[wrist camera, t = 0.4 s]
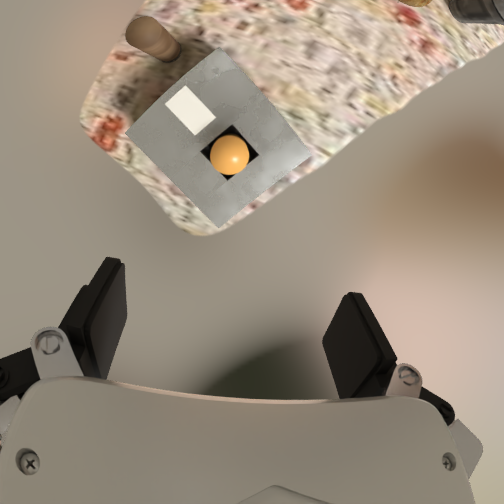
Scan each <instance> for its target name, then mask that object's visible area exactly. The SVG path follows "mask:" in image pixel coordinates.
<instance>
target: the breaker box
mask: <svg viewBox="0 0 504 504" xmlns="http://www.w3.org/2000/svg"><path fill="white" fill-rule="evenodd" d="M228 133H232V134H236V135H239V136H240V137H241V138H242V139H243V140H244V141H245V143H246V145H247V148H248V151H249V160H248V163H247V165H246V167H245V168H244V169H243V170H242V171H240V172H239V173H236V174H232V175H227V174H223V173H220V172H219V171H217V170H216V169H215V168H214V167H213V165H212V163H211V160H210V153H211V149H212V147H213V145H214V142H215V141H216V140H217V138H218V137H220V136H221V135H224V134H228ZM125 134H126V135H127V136H128V137H129V138H130V139H131V140H132V141H133V142H134V143H135V144H136V145H137V146H138V147H139V148H140V149H141V150H142V151H143V152H144V153H145V154H146V155H147V156H148V157H149V158H150V159H151V160H152V161H153V162H154V163H155V164H156V165H157V166H158V167H159V168H160V169H161V171H162V172H163V173H164V174H165V175H166V176H167V177H168V178H169V179H170V180H171V181H172V182H173V183H174V184H175V185H176V186H177V187H178V188H179V189H180V190H181V191H182V192H183V193H184V194H185V195H186V196H187V197H188V198H189V199H190V200H191V201H192V202H193V203H194V204H195V205H196V206H197V207H198V208H199V209H200V210H201V211H202V212H203V213H204V214H205V215H206V216H207V217H208V218H209V219H210V220H211V221H212V222H213V223H214V224H215V225H216V226H217V227H218V228H219V227H221V226H222V225H223V224H224V223H226V222H227V221H228V220H229V219H230V218H232V217H233V216H234V215H235V214H237V213H238V212H239V211H240V210H242V209H243V208H244V207H245V206H247V205H248V204H249V203H250V202H252V201H253V200H254V199H255V198H257V197H258V196H259V195H261V194H262V193H263V192H264V191H266V190H267V189H268V188H269V187H271V186H272V185H273V184H275V183H276V182H277V181H278V180H280V179H281V178H282V177H284V176H285V175H286V174H288V173H289V172H290V171H291V170H293V169H294V168H295V167H297V166H298V165H299V164H301V163H302V162H303V161H305V160H306V159H307V158H309V157H310V156H311V155H312V154H311V153H310V151H309V150H308V149H307V147H306V146H305V145H304V143H303V142H302V141H301V139H300V138H299V137H298V136H297V134H296V133H295V132H294V131H293V129H292V128H291V127H290V125H289V124H288V123H287V122H286V121H285V119H284V118H283V117H282V116H281V114H280V113H279V112H278V111H277V110H276V108H275V107H274V106H273V105H272V104H271V102H270V101H269V100H268V99H267V98H266V97H265V95H264V94H263V93H262V92H261V91H260V90H259V88H258V87H257V86H256V85H255V84H254V83H253V82H252V81H251V80H250V78H249V77H248V76H247V75H246V74H245V73H244V72H243V71H242V70H241V69H240V68H239V66H238V65H237V64H236V63H235V62H234V61H233V60H232V59H231V58H230V57H229V56H228V55H227V54H226V53H225V52H224V51H223V50H222V49H221V48H220V47H219V48H217V49H216V50H215V51H213V52H212V53H211V54H209V55H208V56H207V57H206V58H204V59H203V60H202V61H201V62H199V63H198V64H197V65H196V66H195V67H193V68H192V69H191V70H190V71H189V72H187V73H186V74H185V75H184V76H183V77H182V78H180V79H179V80H178V81H177V82H176V83H175V84H174V85H173V86H171V87H170V88H169V89H168V90H167V91H166V92H165V93H164V94H163V95H162V96H161V97H160V98H159V99H158V100H157V101H156V102H154V103H153V104H152V105H151V106H150V107H149V108H148V109H147V110H146V111H145V112H144V113H143V114H142V115H141V117H140V118H139V119H138V120H137V121H136V122H135V123H134V124H133V125H132V126H131V127H130V128H129V129H128V130H127V131H126V132H125Z"/></svg>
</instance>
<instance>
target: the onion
mask: <svg viewBox="0 0 504 504" xmlns="http://www.w3.org/2000/svg"><path fill="white" fill-rule="evenodd" d="M399 1H400V2H402V3H404V4H407V5H409V6H413V7H422V6H425V5H427V4H429V3H430V2H431V1H432V0H398V2H399ZM398 2H397V3H398Z"/></svg>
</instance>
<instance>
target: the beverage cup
mask: <svg viewBox="0 0 504 504" xmlns="http://www.w3.org/2000/svg"><path fill="white" fill-rule="evenodd" d="M449 8H450V11H451V13H452V15H453V16H454V17H455V19H456V20H458V21H459V22H461V23H484V24H501V25H504V0H452V1H450V3H449Z"/></svg>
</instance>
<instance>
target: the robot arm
mask: <svg viewBox="0 0 504 504" xmlns="http://www.w3.org/2000/svg"><path fill="white" fill-rule="evenodd" d="M126 319H127V304H126V287H125V265H124V263H121V261H120V259H117V258H111V257H106V258H105V260H104V261H103V263H102V264H101V266H100V268H99V269H98V271H97V272H96V274H95V275H94V277H93V279H92V280H91V282H90V284H89V285H84V286H83V287H82V288H81V290H80V291H79V293H78V294H77V296H76V298H75V299H74V301H73V303H72V304H71V306H70V308H69V310H68V311H67V313H66V315H65V317H64V318H63V320H62V322H61V324H60V325H59V327H58V328H56V327H46V328H42V329H40V330H39V331H37V332H36V333H35V334H34V335H33V337H32V339H31V347H30V348H27V349H25V350H22V351H20V352H17V353H14V354H12V355H9V356H7V357H4V358H2V359H0V504H475V501H474V497H473V493H472V490H471V486H470V482H469V478H470V476H471V474H472V472H473V471H474V469H475V467H476V465H477V463H478V461H479V459H480V457H481V455H482V453H483V446H482V443H481V442H480V440H479V439H478V438H477V437H476V436H475V435H474V434H473V433H472V432H471V431H470V430H469V429H468V428H467V427H466V426H465V425H464V424H463V423H462V422H461V421H460V420H459V419H457V420H456V421H455V420H454V419H455V413H454V410H453V408H452V407H451V405H450V404H449V403H448V402H446V401H445V400H443V399H441V398H440V397H438V396H437V395H435V394H433V393H432V392H430V391H428V390H427V389H425V388H423V387H422V377H421V375H420V373H419V371H418V370H417V369H416V368H414V367H413V366H411V365H409V364H405V363H402V364H399V365H397V364H396V360H397V357H396V355H395V353H394V351H393V349H392V347H391V345H390V343H389V341H388V340H387V338H386V336H385V334H384V332H383V330H382V328H381V327H380V325H379V323H378V321H377V319H376V317H375V316H374V314H373V312H372V310H371V308H370V307H369V305H368V303H367V302H366V300H365V298H364V296H363V295H362V294H361V293H355V292H349V293H348V294H347V295H344V297H343V298H342V300H341V303H340V305H339V307H338V309H337V311H336V313H335V315H334V317H333V319H332V321H331V323H330V325H329V327H328V329H327V331H326V333H325V335H324V337H323V342H322V344H323V347H324V350H325V353H326V356H327V360H328V363H329V366H330V369H331V372H332V375H333V378H334V381H335V384H336V388H337V391H338V395H339V398H340V399H328V400H262V399H242V398H227V397H216V396H205V395H197V394H188V393H181V392H174V391H167V390H161V389H155V388H149V387H143V386H137V385H131V384H126V383H121V382H117V381H111V380H106V379H107V376H108V373H109V369H110V366H111V363H112V360H113V357H114V354H115V351H116V348H117V345H118V342H119V339H120V337H121V334H122V331H123V328H124V326H125V323H126ZM8 425H9V426H8ZM7 429H8V430H7ZM6 430H7V433H6V436H5V439H4V442H3V445H1V438H2V435H3V433H4V432H5V431H6ZM37 455H38V456H37ZM33 459H34V460H33Z"/></svg>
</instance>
